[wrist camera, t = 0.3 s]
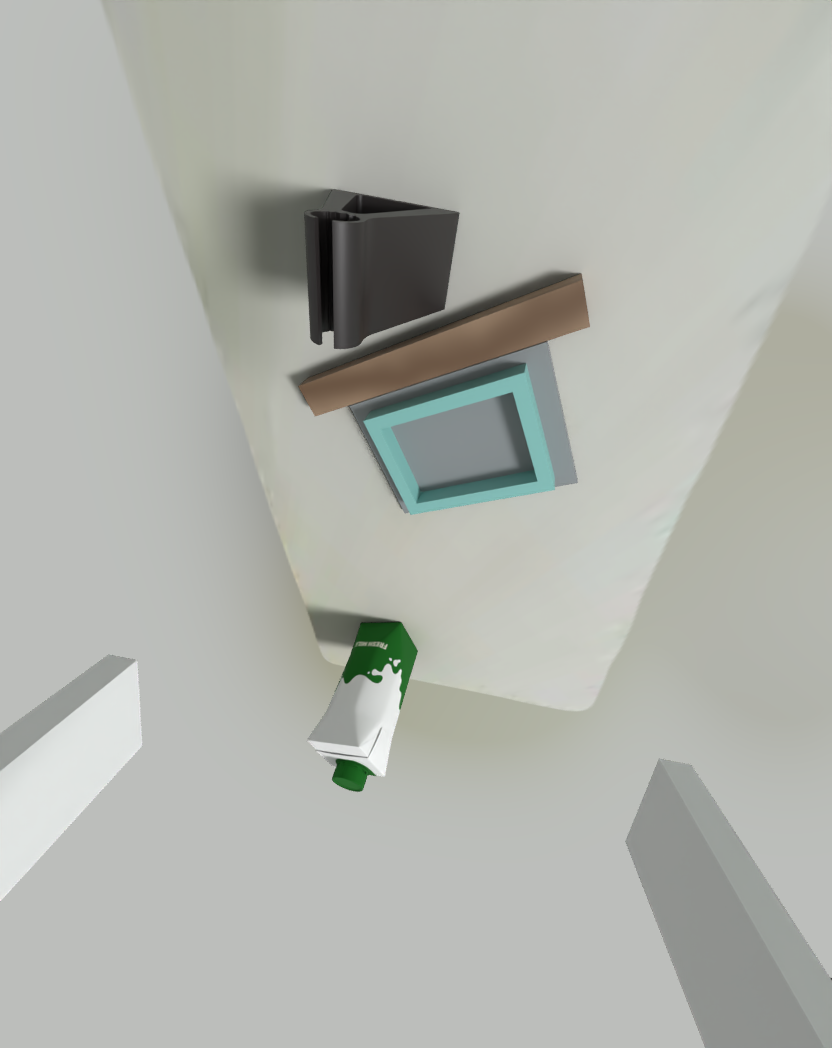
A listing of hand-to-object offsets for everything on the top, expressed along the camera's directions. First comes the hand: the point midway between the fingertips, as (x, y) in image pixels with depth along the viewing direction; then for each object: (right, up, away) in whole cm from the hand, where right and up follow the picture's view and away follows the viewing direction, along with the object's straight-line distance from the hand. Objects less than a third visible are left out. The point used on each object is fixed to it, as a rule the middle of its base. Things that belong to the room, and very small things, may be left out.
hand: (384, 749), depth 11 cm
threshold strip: (+2, +20, +24) cm, 31 cm away
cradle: (+5, +13, +28) cm, 32 cm away
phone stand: (-1, +26, +20) cm, 33 cm away
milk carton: (-3, -11, +53) cm, 55 cm away
